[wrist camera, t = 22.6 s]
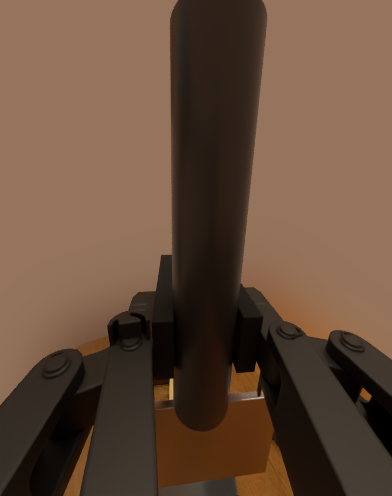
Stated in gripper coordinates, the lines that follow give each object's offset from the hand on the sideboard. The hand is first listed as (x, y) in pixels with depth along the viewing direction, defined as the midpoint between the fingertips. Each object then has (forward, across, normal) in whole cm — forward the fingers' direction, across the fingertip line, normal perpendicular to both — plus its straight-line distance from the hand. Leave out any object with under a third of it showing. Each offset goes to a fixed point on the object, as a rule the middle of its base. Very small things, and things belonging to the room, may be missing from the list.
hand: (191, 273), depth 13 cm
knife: (-6, 0, -10) cm, 12 cm away
